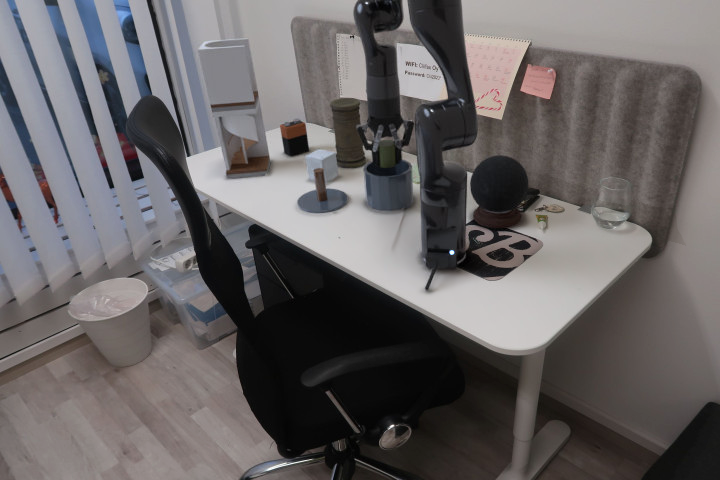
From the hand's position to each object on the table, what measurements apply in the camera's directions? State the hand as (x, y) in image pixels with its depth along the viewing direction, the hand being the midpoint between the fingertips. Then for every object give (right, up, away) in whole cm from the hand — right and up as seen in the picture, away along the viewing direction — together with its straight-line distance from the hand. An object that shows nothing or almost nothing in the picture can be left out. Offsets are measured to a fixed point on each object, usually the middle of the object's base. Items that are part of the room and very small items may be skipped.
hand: (387, 163), depth 135 cm
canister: (0, -9, +6) cm, 10 cm away
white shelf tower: (-41, +3, +28) cm, 50 cm away
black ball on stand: (+26, -14, -3) cm, 30 cm away
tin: (0, 0, 0) cm, 0 cm away
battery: (-29, +10, +38) cm, 49 cm away
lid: (-17, -9, +6) cm, 20 cm away
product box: (-18, -1, +20) cm, 27 cm away
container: (-11, +5, +29) cm, 32 cm away
